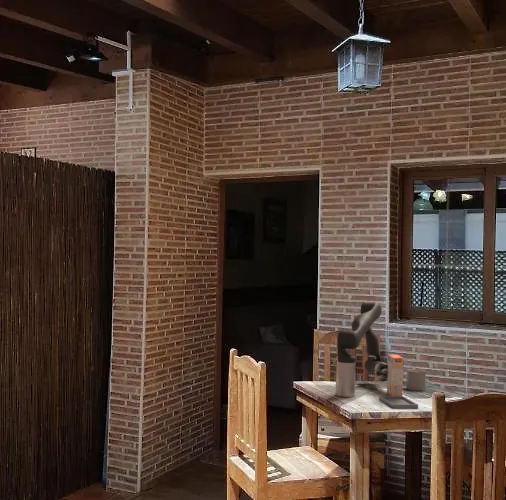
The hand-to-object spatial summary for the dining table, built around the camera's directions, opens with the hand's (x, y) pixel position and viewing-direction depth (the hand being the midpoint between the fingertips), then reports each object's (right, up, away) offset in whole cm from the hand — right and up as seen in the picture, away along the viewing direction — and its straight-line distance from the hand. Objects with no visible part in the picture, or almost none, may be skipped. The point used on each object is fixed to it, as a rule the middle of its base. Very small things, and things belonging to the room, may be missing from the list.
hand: (393, 375), depth 349 cm
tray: (-2, -10, -22) cm, 24 cm away
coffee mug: (+15, -12, +21) cm, 28 cm away
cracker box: (0, -11, -2) cm, 11 cm away
